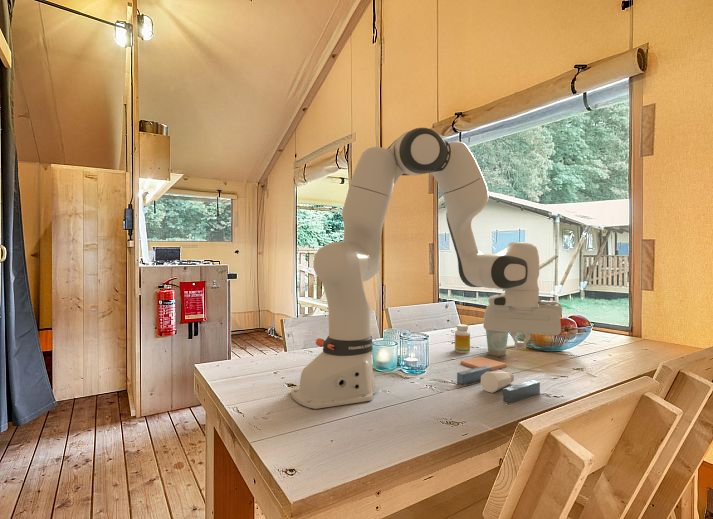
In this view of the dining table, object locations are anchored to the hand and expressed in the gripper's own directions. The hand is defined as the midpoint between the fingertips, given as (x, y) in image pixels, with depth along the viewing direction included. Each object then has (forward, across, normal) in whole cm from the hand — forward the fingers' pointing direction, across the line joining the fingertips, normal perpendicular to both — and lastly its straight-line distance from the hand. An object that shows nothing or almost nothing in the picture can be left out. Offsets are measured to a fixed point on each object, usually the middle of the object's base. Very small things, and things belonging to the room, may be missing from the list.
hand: (520, 348), depth 110 cm
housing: (+9, +6, +9) cm, 14 cm away
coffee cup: (+10, +5, -29) cm, 31 cm away
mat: (+9, +10, -12) cm, 18 cm away
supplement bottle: (+10, +17, -29) cm, 35 cm away
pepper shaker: (+7, +9, +13) cm, 17 cm away
